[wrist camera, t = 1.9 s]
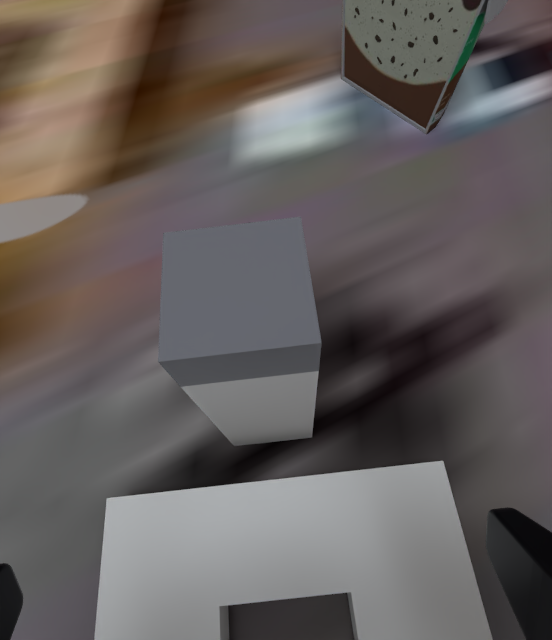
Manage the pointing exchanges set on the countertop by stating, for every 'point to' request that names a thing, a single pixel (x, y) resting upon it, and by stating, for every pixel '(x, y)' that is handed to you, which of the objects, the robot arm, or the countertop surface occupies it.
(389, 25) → the food container
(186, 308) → the plug
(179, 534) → the socket
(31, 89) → the countertop surface
